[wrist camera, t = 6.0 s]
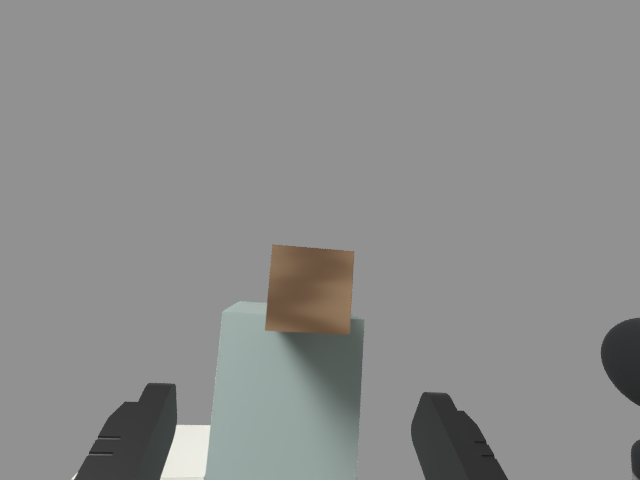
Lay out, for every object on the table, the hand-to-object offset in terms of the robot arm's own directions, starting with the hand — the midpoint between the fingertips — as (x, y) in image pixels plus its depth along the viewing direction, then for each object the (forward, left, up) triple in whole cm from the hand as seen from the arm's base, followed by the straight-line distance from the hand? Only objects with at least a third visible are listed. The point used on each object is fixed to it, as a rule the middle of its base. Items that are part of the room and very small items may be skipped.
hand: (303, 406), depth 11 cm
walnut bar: (0, -15, +2) cm, 15 cm away
